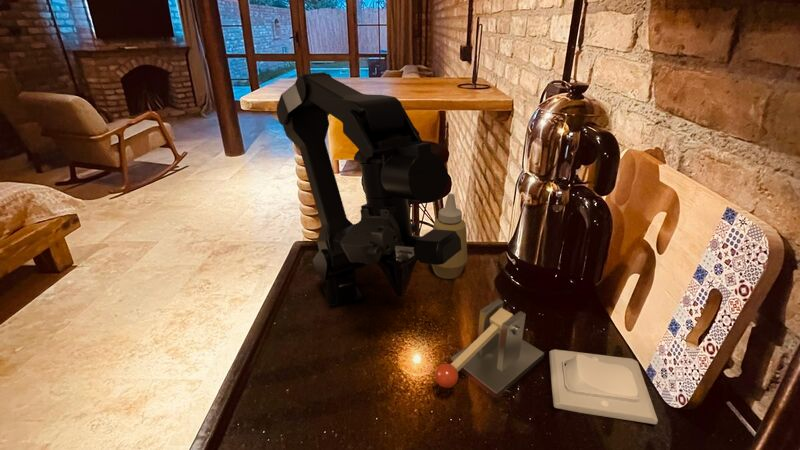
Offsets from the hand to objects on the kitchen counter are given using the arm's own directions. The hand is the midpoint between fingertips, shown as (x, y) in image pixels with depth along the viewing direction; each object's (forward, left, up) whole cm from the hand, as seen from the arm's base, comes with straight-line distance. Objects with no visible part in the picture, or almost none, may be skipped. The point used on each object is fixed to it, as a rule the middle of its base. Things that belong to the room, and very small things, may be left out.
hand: (401, 296), depth 60 cm
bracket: (+7, +13, -12) cm, 19 cm away
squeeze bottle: (-19, +18, -12) cm, 29 cm away
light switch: (+17, +24, -12) cm, 32 cm away
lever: (+8, +8, -7) cm, 14 cm away
